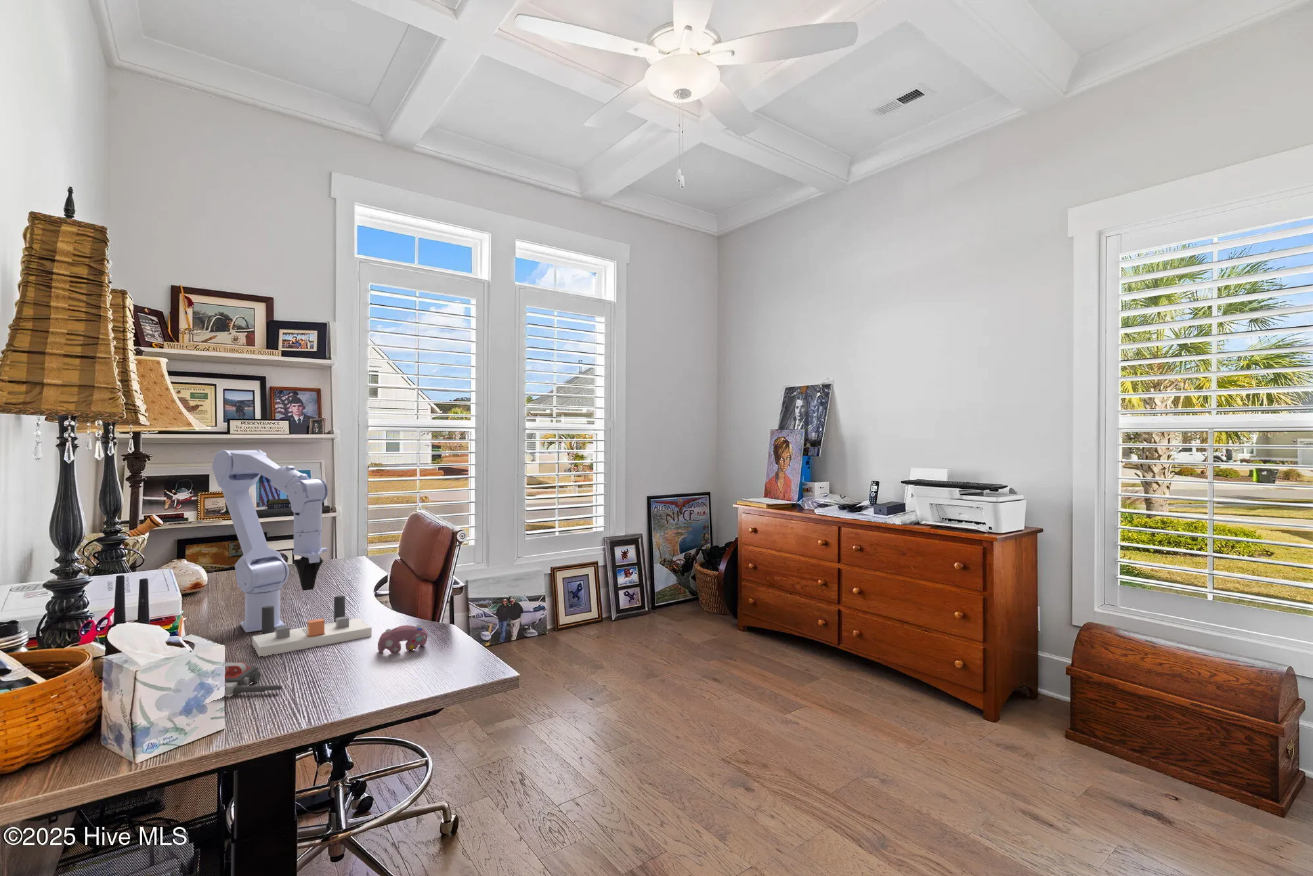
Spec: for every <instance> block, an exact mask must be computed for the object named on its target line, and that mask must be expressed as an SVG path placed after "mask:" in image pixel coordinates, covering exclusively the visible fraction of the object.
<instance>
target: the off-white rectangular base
mask: <svg viewBox="0 0 1313 876" xmlns="http://www.w3.org/2000/svg"><path fill="white" fill-rule="evenodd" d="M372 635H373V634H372V626H370V625H369V624H368V623H367V622H365V621H364V620H363V619H361V618H360V617H359V618H351V619H350V618H349V616H347V615H345V617H339V618H336V622H334V621H333V622H327V623H324V634H321V635H316V636H310V637H309V636H308V635H307V626H305V627H299V628H293V629H291V627H290V626H289V625H286V626H283V627H277V628H275V631H274V633H268V634H262V633H261V634H257V635H253V636H251V637H252V639H251V641H252V643H251V644H252V648H253V649H254V648H255V649H254V650H256V651H255V652H256V654H257V655H258V657H259V658H261V657H260V656H263V657H267V656H268V655H269V656H273V655H272V654H274V655H278V654H283V653H289V652H295V651H300V650H304V649H311V648H315V647H316V646H317V647H321V646H328V645H332V644H338V643H341V642H343V643H344V642H348V641H353V640H358V639H365V638H370V637H372Z"/></svg>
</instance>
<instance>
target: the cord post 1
mask: <svg viewBox="0 0 1313 876" xmlns="http://www.w3.org/2000/svg"><path fill="white" fill-rule="evenodd" d="M274 632H275V628H274V606H265V607H262V630H261V635H262V634H268V633H274Z"/></svg>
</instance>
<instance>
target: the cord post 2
mask: <svg viewBox="0 0 1313 876" xmlns="http://www.w3.org/2000/svg"><path fill="white" fill-rule="evenodd" d="M345 616H346V595H335V596H334V597H333V623H334V622H336V618H339V617H345Z"/></svg>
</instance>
